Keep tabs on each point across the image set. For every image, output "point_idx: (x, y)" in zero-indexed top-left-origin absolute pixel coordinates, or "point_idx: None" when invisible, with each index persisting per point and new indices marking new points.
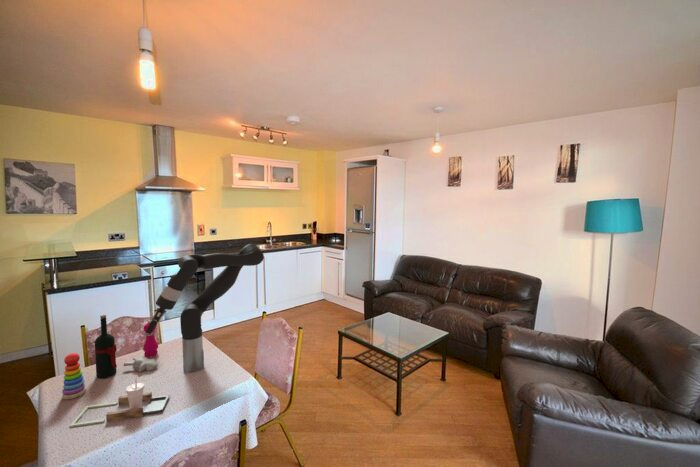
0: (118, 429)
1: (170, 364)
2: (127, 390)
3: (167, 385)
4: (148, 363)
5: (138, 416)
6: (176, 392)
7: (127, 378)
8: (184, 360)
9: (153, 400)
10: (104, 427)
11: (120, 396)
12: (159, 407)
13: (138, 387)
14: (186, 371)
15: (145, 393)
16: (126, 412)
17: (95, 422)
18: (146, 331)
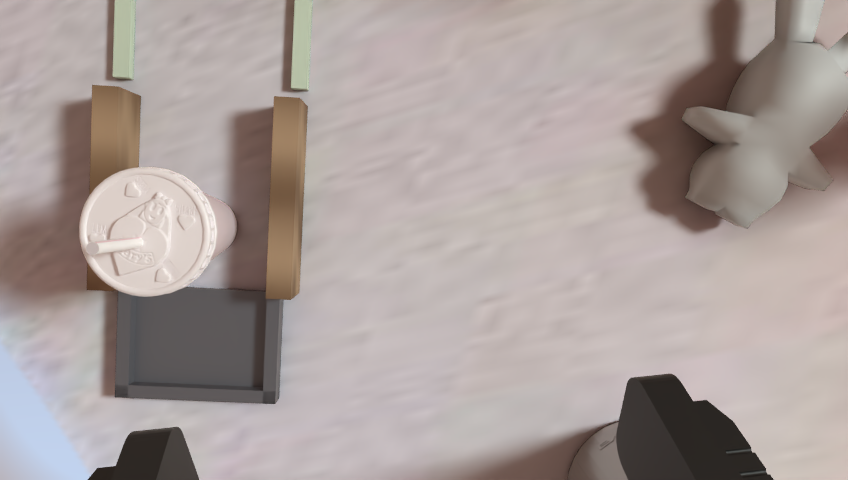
0: (22, 187)
1: (752, 306)
2: (99, 190)
3: (441, 352)
4: (734, 167)
5: None
6: (331, 429)
7: (627, 52)
8: (625, 476)
9: (262, 310)
10: (65, 102)
11: (295, 103)
12: (169, 367)
13: (117, 265)
14: (582, 452)
15: (286, 261)
16: None
17: (114, 34)
18: (129, 455)
